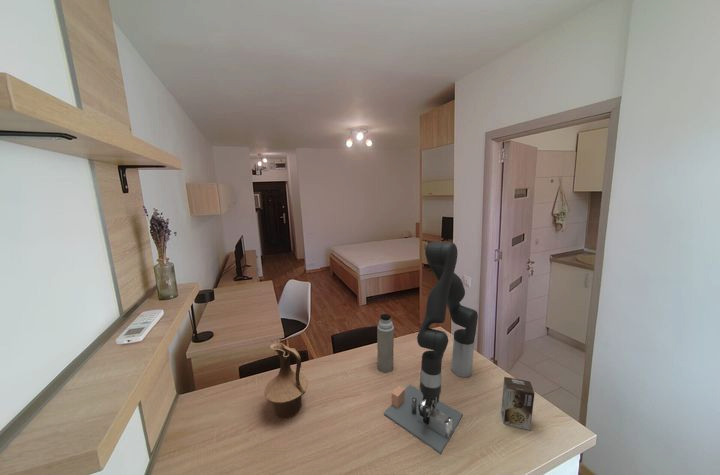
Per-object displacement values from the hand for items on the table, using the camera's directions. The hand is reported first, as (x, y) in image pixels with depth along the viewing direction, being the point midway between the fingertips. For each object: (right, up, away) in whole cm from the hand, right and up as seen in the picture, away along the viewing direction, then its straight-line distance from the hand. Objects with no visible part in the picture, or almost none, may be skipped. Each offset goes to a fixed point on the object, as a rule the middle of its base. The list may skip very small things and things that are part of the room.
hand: (428, 418), depth 101 cm
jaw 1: (+2, -2, 0) cm, 3 cm away
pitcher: (-56, -2, +9) cm, 57 cm away
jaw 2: (+1, -2, -2) cm, 3 cm away
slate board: (-1, -2, +4) cm, 5 cm away
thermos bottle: (-14, +4, +32) cm, 35 cm away
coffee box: (+34, -2, +1) cm, 34 cm away
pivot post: (-5, -2, +5) cm, 7 cm away
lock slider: (-10, 0, +9) cm, 14 cm away
